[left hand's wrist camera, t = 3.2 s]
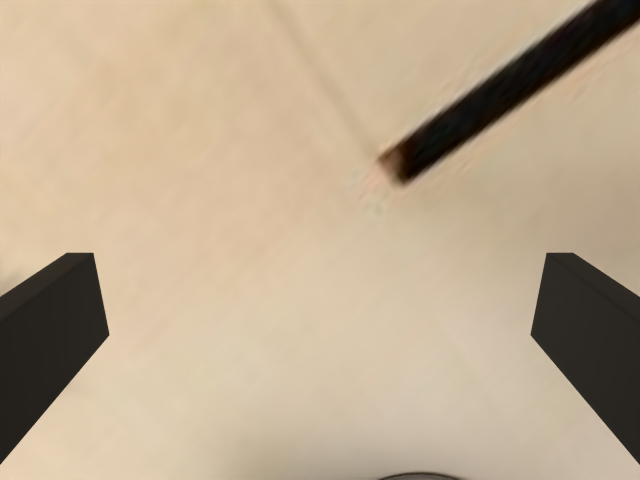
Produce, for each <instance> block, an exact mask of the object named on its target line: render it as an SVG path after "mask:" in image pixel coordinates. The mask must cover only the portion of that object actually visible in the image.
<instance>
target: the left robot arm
mask: <svg viewBox="0 0 640 480" xmlns="http://www.w3.org/2000/svg"><path fill="white" fill-rule="evenodd" d="M108 336H109V330H108V325H107V320H106V315H105V310H104V305H103V299H102V294H101V289H100V284H99V279H98V274H97V269H96V264H95V259H94V254H93V253H66V254H64V255H63V256H61V257H60V258H58V259H57V260H55V261H54V262H52V263H51V264H49V265H48V266H46V267H45V268H43V269H42V270H40V271H39V272H37V273H36V274H34V275H33V276H31V277H30V278H28V279H27V280H25V281H24V282H22V283H21V284H19V285H18V286H16V287H15V288H13V289H12V290H10V291H9V292H7V293H5V294H4V295H2V296H1V297H0V464H1V463H2V462H3V461H4V460H5V459H6V457H7V456H8V455H9V454H10V453H11V451H12V450H13V449H14V448H15V447H16V445H17V444H18V443H19V442H20V441H21V439H22V438H23V437H24V436H25V435H26V434H27V432H28V431H29V430H30V429H31V428H32V426H33V425H34V424H35V423H36V422H37V420H38V419H39V418H40V417H41V416H42V415H43V413H44V412H45V411H46V410H47V409H48V407H49V406H50V405H51V404H52V403H53V401H54V400H55V399H56V398H57V397H58V396H59V394H60V393H61V392H62V391H63V390H64V388H65V387H66V386H67V385H68V384H69V382H70V381H71V380H72V379H73V378H74V377H75V375H76V374H77V373H78V372H79V371H80V369H81V368H82V367H83V366H84V365H85V363H86V362H87V361H88V360H89V359H90V358H91V356H92V355H93V354H94V353H95V352H96V350H97V349H98V348H99V347H100V346H101V344H102V343H103V342H104V341H105V340H106V339H107V337H108ZM531 336H532V337H533V339H534V340H535V341H536V342H537V343H538V344H539V346H540V347H541V348H542V349H543V350H544V352H545V353H546V354H547V355H548V356H549V358H550V359H551V360H552V361H553V362H554V363H555V365H556V366H557V367H558V368H559V369H560V371H561V372H562V373H563V374H564V375H565V377H566V378H567V379H568V380H569V381H570V382H571V384H572V385H573V386H574V387H575V388H576V390H577V391H578V392H579V393H580V394H581V396H582V397H583V398H584V399H585V400H586V401H587V403H588V404H589V405H590V406H591V407H592V409H593V410H594V411H595V412H596V413H597V415H598V416H599V417H600V418H601V419H602V420H603V422H604V423H605V424H606V425H607V426H608V428H609V429H610V430H611V431H612V432H613V434H614V435H615V436H616V437H617V438H618V439H619V441H620V442H621V443H622V444H623V445H624V447H625V448H626V449H627V450H628V451H629V453H630V454H631V455H632V456H633V457H634V459H635V460H636V461H637V462H638V463H639V464H640V297H639V296H638V295H636V294H635V293H633V292H631V291H630V290H628V289H627V288H625V287H624V286H622V285H621V284H619V283H618V282H616V281H615V280H613V279H612V278H610V277H609V276H607V275H606V274H604V273H603V272H601V271H600V270H598V269H597V268H595V267H594V266H592V265H591V264H589V263H588V262H586V261H585V260H583V259H582V258H580V257H579V256H577V255H576V254H574V253H547V254H546V259H545V264H544V269H543V274H542V279H541V284H540V289H539V294H538V299H537V305H536V310H535V315H534V320H533V325H532V330H531ZM384 480H454V479H450V478H446V477H441V476H435V475H420V474H419V475H404V476H397V477H392V478H388V479H384Z"/></svg>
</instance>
